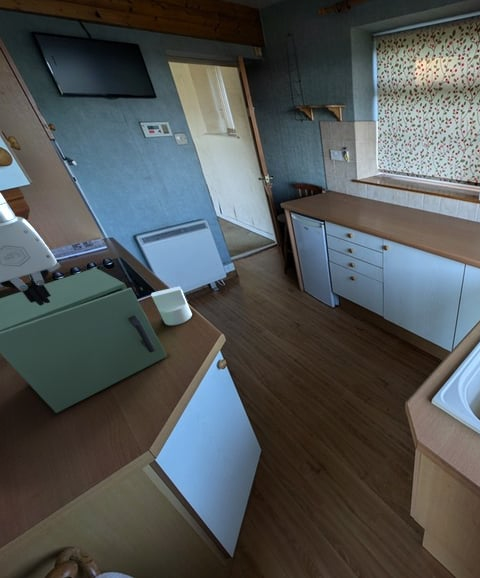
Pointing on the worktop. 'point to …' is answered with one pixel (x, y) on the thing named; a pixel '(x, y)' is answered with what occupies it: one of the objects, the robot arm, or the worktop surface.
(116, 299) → the cupboard door
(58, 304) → the cupboard
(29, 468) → the worktop surface
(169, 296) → the base with upright slab
